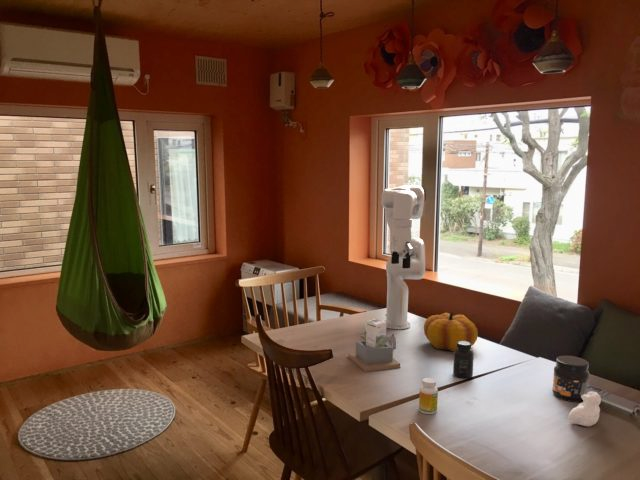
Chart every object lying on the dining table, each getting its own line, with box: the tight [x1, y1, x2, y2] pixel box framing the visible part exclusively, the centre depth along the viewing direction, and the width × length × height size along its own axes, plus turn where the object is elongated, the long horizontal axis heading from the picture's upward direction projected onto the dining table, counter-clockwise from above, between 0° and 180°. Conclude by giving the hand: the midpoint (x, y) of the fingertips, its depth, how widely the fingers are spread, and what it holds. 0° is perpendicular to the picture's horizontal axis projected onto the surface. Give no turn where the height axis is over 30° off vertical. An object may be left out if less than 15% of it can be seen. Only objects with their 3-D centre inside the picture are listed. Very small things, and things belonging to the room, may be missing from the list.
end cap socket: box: [348, 339, 401, 373], centre depth 207 cm, size 16×14×7 cm
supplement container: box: [552, 355, 590, 402], centre depth 179 cm, size 10×10×12 cm
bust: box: [567, 390, 602, 427], centre depth 160 cm, size 12×8×11 cm
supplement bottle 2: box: [452, 341, 475, 380], centre depth 195 cm, size 7×7×12 cm
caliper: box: [360, 333, 397, 350], centre depth 229 cm, size 20×1×6 cm, turn 38°
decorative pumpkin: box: [423, 311, 479, 352], centre depth 225 cm, size 20×22×15 cm
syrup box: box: [364, 318, 387, 349], centre depth 206 cm, size 6×6×14 cm
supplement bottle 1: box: [418, 377, 439, 415], centre depth 167 cm, size 5×5×10 cm
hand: (400, 265), depth 221 cm, fingers open, 9 cm apart
